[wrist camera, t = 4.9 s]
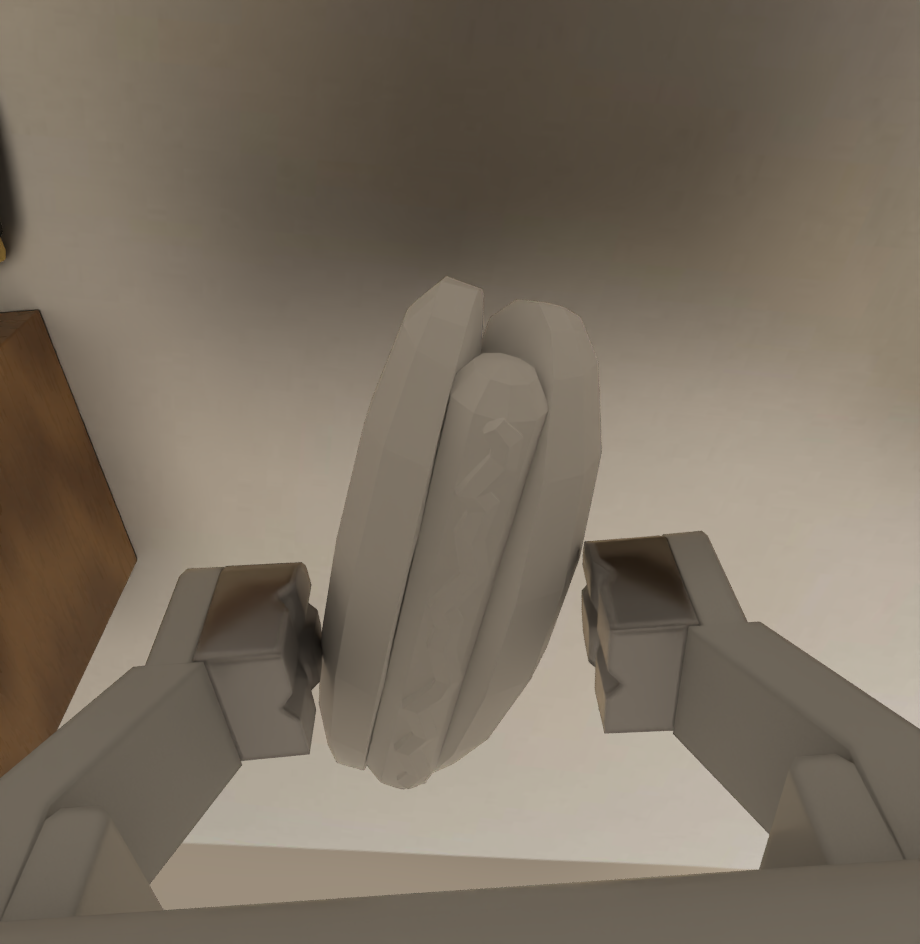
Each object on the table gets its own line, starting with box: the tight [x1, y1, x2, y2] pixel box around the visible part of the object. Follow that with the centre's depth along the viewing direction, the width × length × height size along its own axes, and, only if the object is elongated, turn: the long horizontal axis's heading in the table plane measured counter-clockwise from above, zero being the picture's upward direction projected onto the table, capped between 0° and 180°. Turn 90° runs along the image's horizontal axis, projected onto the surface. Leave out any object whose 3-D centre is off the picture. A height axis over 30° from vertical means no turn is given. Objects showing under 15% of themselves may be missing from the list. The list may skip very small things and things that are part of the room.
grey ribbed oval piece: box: [319, 276, 602, 789], centre depth 10 cm, size 3×8×3 cm, turn 168°
